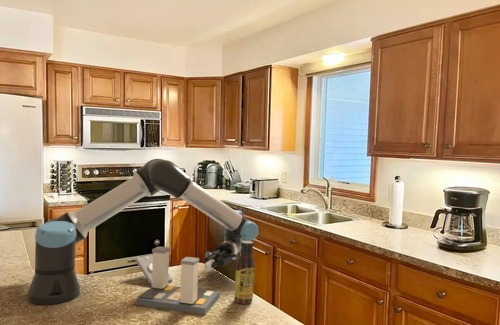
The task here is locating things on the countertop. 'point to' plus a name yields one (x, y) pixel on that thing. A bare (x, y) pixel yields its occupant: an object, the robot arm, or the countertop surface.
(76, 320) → the countertop surface
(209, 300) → the console
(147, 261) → the gray dial box
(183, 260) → the slider
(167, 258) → the slider
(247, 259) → the sauce bottle
